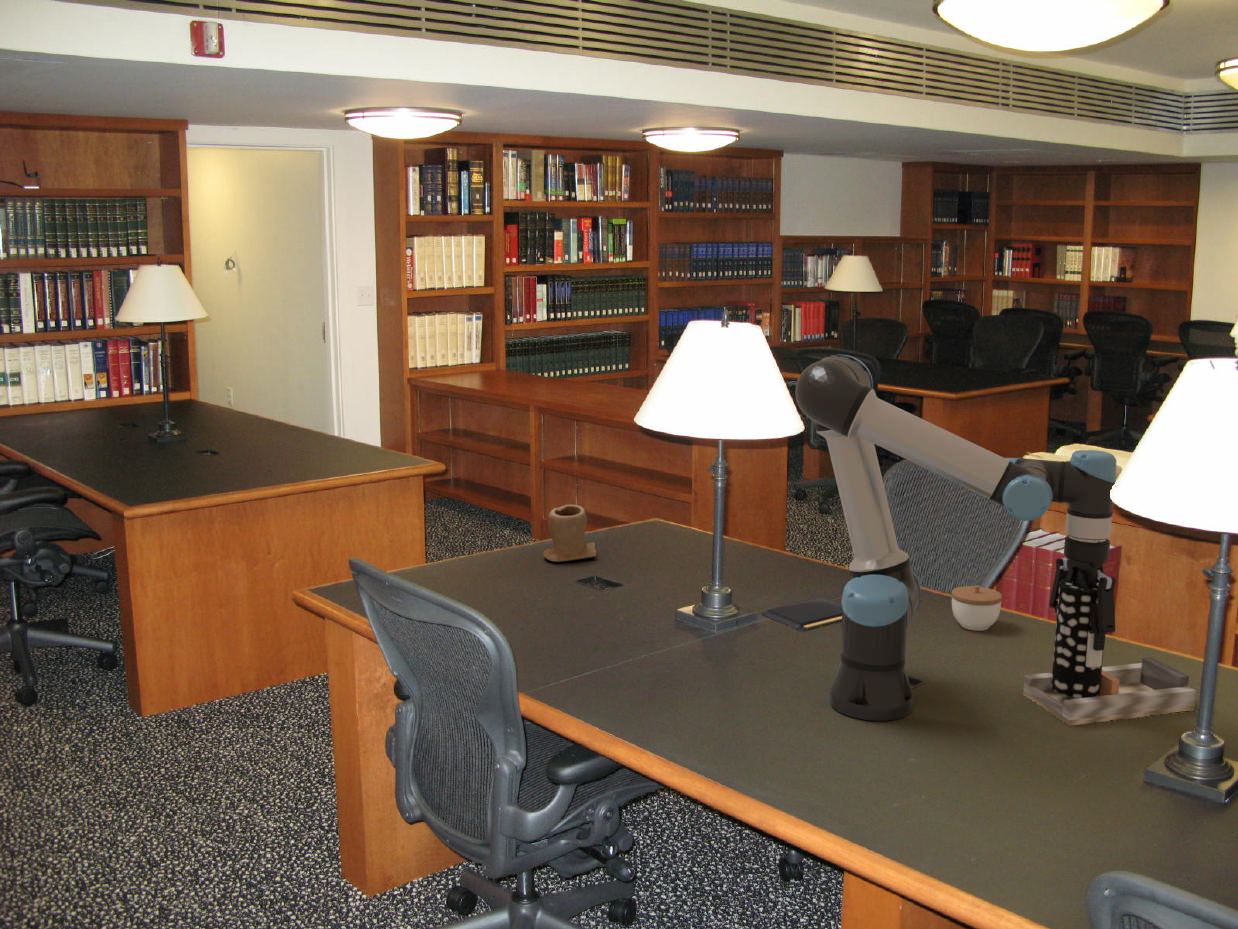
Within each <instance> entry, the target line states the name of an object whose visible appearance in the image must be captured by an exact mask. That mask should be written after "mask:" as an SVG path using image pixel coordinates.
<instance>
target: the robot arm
mask: <svg viewBox="0 0 1238 929" xmlns="http://www.w3.org/2000/svg"><path fill="white" fill-rule="evenodd" d="M795 400H796V404H797V406H798V408H799V410H800V411H801V412H802V414H803V415H805V416H806V417H807V418H808V419H809V420H811V421H812V422H813V424H814V428H815V431H816V434H818V435H819V436H821V437H823V438H824V439H825V440H826V443H827V448H828V452H829V456H830V461H831V465H832V469H833V474H834V476H835V480H836V481H835V482H836V486H837V490H838V494H839V498H840V503H841V506H842V510H843V511H842V512H843V516H844V520H845V523H846V527H847V532H848V536H849V541H850V544H851V549H852V553H853V556H854V557H853V559H852V561H851V562H850V564H849V565H848V569H849V575H850V580H849V581H848V582H847V583H846V584H845V586H844V588H843V592H842V597H841V605H842V622H841V632H840V633H841V637H840V639H841V640H840V662H839V665H838V667H837V670H836V673H835V676H834V678H833V680H832V683H831V685H830V689H829V699H828V700H829V705H830V706H831V707H832V708H833V709H834V710H835V711H837V712H839V713H840V714H843V715H845V716H848V717H851V718H855V719H859V720H863V721H880V722H881V721H883V722H884V721H885V722H886V721H893V720H898V719H902V718H904V717H906V716H908V715H910V714H911V712H912V711H913V706H914V696H913V692H912V689H911V684H910V682H909V681H910V680H909V677H908V674H907V670H906V649H907V633H908V628H909V625H910V624H911V622H912V621H913V618H914V616H915V615H916V613H917V612H918V610H919V607H920V604H921V598H922V588H921V583H920V580H919V578H918V576H917V574H916V573H915V572H914V570H913V569H912V565H911V560H910V557H909V554H908V553H907V552H905V551H904V550H902V549H900V548H899V545H898V542H897V541H898V540H897V537H896V532H895V528H894V524H893V519H892V514H891V511H890V506H889V503H888V502H889V501H888V498H887V492H886V489H885V484H884V481H883V477H882V476H883V475H882V472H881V468H880V463H879V459H878V456H877V455H878V454H877V450H876V446H878V447H881V448H882V449H885V450H887V451H889V452H891V453H892V454H895V455H897V456H898V457H901V458H903V459H905V460H907V461H909V462H912V463H913V464H915V465H918V466H920V467H922V468H924V469H926V470H928V471H930V472H932V473H934V474H935V475H938V476H940V477H942V478H944V479H947V480H949V481H950V482H952V483H955V484H956V485H959V486H961V487H963V488H965V489H967V490H969V491H971V492H973V493H975V494H976V495H980V496H982V497H984V498H986V499H988V500H990V501H992V502H994V503H995V504H997V505H998V506H999V505H1000V506H1001V507H1004V509H1005V510H1006V511H1007V513H1008V514H1009V515H1010V516H1011V517H1013V518H1014V519H1016V520H1019V521H1024V522H1029V521H1034V520H1037V519H1039V518H1041V517H1043V515H1044V514H1045V513H1047V511H1048V510H1049V508H1050V507H1051V504H1052V503H1058V504H1063V503H1064V504H1067V508H1066V519H1065V529H1064V532H1065V534H1066V536H1065V538H1064V544H1063V547H1064V548H1063V554H1064V557H1062V558H1061V557H1060V558H1056V560H1055V574H1054V579H1053V584H1052V589H1051V593H1050V597H1049V598H1050V599H1049V602H1048V603H1049V604H1048V605H1049V607H1050V608H1053V609H1054V612H1055V614H1056V615H1057V608H1058V595H1059V583H1060V581H1061V580H1064V579H1065V581H1066V582H1068V583H1072V582H1073V583H1074V584H1076V585H1079V586H1081V588H1082V589H1083V590H1085V591H1093V590H1089V589H1093V588H1095V587H1096V588H1098V589H1097V590H1098V591H1097V593H1098V604H1093V603H1091V609H1090V622H1091V627H1092V630H1090V631H1088V642H1087V654H1086V666H1087V667H1096V666H1101V664H1102V665H1103V661H1102V653H1103V654H1104V650H1105V646H1106V645H1105V642H1106V636H1107V635H1106V634H1107V633H1108V634H1109V633H1115V631H1116V612H1115V609H1116V608H1115V587H1116V586H1115V585H1116V583H1117V582H1116V581H1117V580H1116V577H1115V576H1108V575H1106V574H1105V571H1104V570H1105V569H1104V564H1105V562H1107V561H1108V560H1109V558H1110V549H1111V541H1110V540H1109V538H1110V537H1111V534H1112V522H1113V521H1112V520H1113V512H1114V503H1112V500H1111V499H1110V490H1111V489H1112V486H1113V485H1114V484H1115V482H1116V481H1117V458H1116V457H1115V456H1114V454H1112V453H1111V452H1107V451H1102V450H1097V449H1094V450H1093V449H1087V450H1086V449H1085V450H1084V449H1082V450H1081V449H1079V450H1075V451H1073V452H1072V453H1071V457H1070V458H1069V459H1070V460H1066V461H1063V460H1062V461H1061V460H1049V459H1034V458H1024V457H1004V456H1001V455H998V454H997V453H995V452H992V451H991V450H988V449H986V448H984V447H982V446H980V445H978V444H975V443H973V442H972V441H969V440H968V439H965V438H963V437H961V436H959V435H957V434H955V433H952V432H950V431H949V430H946V429H945V428H941V427H940V426H938V425H936V424H933V423H932V422H929V421H927V420H924V419H923V418H922V417H919V416H916V415H915V414H912V413H910V412H908V411H906V410H904V409H901V408H899V407H897V406H895V405H893V404H891V403H889V402H887V401H885V400H883V399H880V398H878V396H877V394H876V391H875V389H874V380H873V377H872V374H871V371H870V370H869V368H868V367H867V365H866V364H865V363H864V362H862V361H861V360H860V359H858V358H856V357H854V356H851V355H847V354H835V355H830V356H825V357H824V358H821V359H820V360H818V361H816V362H813V363H812V364H810V365H808V366H807V367H806V368H805V369H804V370H803V371H802V372H801V374H800V375H799V376H798V378H797V381H796V385H795ZM875 445H876V446H875ZM1055 620H1057V616H1056V619H1055ZM1098 624H1099V626H1098Z"/></svg>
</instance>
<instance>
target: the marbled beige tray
mask: <svg viewBox="0 0 1238 929" xmlns="http://www.w3.org/2000/svg"><path fill="white" fill-rule="evenodd" d="M1102 670H1103V671H1104V672H1106V673H1108V674H1110V675H1112V676H1113V677H1115V678H1117V679H1119V680H1120V681H1119V693H1118V694H1114V695H1105V696H1096V697H1087V698H1075V697H1070V696H1066V695H1063V694H1060V693H1058V692H1056V691H1054V690H1053V689H1052V687H1051V681H1052V671H1051V672H1045V673H1031V674H1025V675H1024V678H1023V679H1024V680H1023V692H1022V693H1023V696H1024V697H1025V696H1026V697H1025V698H1027V699H1028V698H1029V700H1030V699H1031V700H1032V702H1033V703H1034V702H1036V703H1037V704H1038V705H1037V704H1036V703H1035V704H1036V705H1037V706H1039V705H1040V706H1042V707H1043V708H1045V709H1046V710H1047V711H1046V710H1045V709H1044V710H1045V711H1046V712H1048V711H1049V712H1051V713H1052V714H1053V716H1054V715H1055V716H1056V717H1055V716H1054V717H1055V718H1056V719H1058V718H1059V719H1058V720H1060V719H1061V720H1062V721H1061V720H1060V721H1061V722H1063V723H1064V722H1065V723H1064V724H1066V725H1067V724H1068V725H1067V726H1078V725H1086V724H1095V723H1094V722H1096V723H1103V722H1111V721H1110V720H1113V721H1118V720H1117V719H1122V720H1127V719H1128V720H1129V719H1138V718H1137V717H1139V718H1146V717H1145V716H1147V717H1151V716H1150V715H1156V716H1159V715H1158V714H1162V713H1167V712H1179V711H1187V710H1192V709H1193V710H1194V711H1195V705H1196V704H1195V703H1196V693H1197V690H1196V689H1194V688H1192V687H1190V686H1189V683H1190V682H1189V681H1190V676H1189V675H1188V674H1186V673H1184V672H1182V671H1180V670H1179V669H1177V668H1174V667H1172V666H1170V665H1168V664H1166V663H1164V662H1162V661H1160V660H1158V659H1157V658H1155V657H1153V656H1146V657H1145V656H1144V657H1142V659H1141V662H1138V663H1130V664H1129V663H1128V664H1120V665H1109V666H1102ZM1031 700H1030V701H1031ZM1040 706H1039V707H1040ZM1042 707H1041V708H1042ZM1043 708H1042V709H1043ZM1049 712H1048V713H1049ZM1051 713H1050V714H1051ZM1052 714H1051V715H1052Z"/></svg>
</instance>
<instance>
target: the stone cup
mask: <svg viewBox="0 0 1238 929" xmlns="http://www.w3.org/2000/svg"><path fill="white" fill-rule="evenodd" d="M586 513H587V512H586V510H585V509H584V508H583V507H582V506H581V505H577V504H564V505H562V506H559V507H555V508H553V509H552V510H551V511H550V512H549V513H548V521H547V522H548V523H547V525H548V531H549V535H550V537H551V540H552V545H553V547H552V548H547V549H545V550H544V551H543V557H544V558H545V559H547V560H548V561H551V562H556V563H557V562H558V563H559V562H569V561H576V560H582V559H589V558H594V557H595V558H596V556H597V551H596V547H595V546H596V543H595V542H592V541H591V542H585V541H584V540H585V536H586V535H585V534H586V530H587V524H588V517H587V514H586Z"/></svg>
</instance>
